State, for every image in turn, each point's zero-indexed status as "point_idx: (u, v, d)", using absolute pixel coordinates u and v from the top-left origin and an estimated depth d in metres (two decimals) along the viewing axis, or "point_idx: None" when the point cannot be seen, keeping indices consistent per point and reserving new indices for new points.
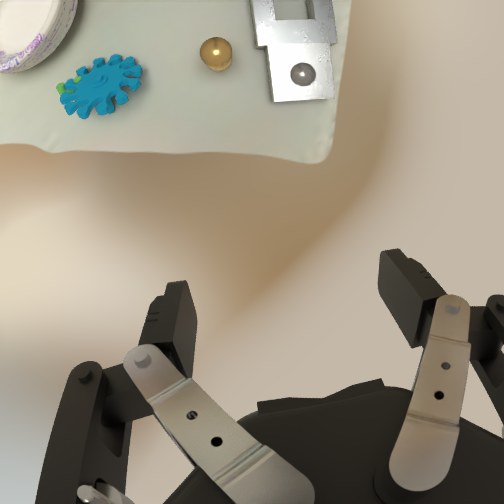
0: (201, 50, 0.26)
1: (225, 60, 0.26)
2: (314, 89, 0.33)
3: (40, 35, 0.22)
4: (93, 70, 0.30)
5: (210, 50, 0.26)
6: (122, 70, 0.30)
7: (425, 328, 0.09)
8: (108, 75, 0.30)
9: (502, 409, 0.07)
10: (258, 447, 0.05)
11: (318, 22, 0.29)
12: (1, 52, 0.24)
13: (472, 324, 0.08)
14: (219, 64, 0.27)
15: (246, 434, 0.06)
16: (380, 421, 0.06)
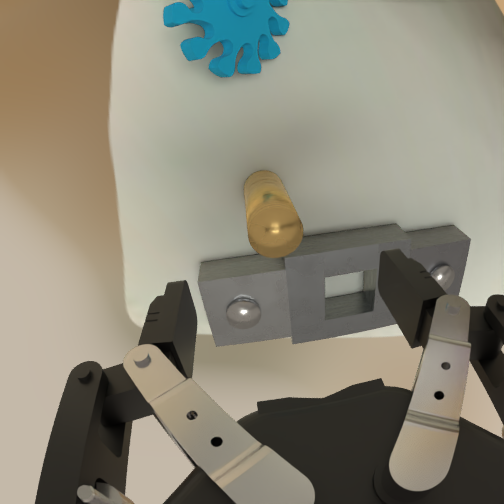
0: (279, 210, 0.17)
1: (258, 249, 0.18)
2: (223, 325, 0.27)
3: None
4: None
5: (278, 224, 0.17)
6: (254, 41, 0.17)
7: (425, 328, 0.09)
8: (248, 17, 0.16)
9: (502, 409, 0.07)
10: (258, 447, 0.05)
11: (320, 323, 0.27)
12: None
13: (472, 324, 0.08)
14: (251, 240, 0.18)
15: (246, 434, 0.06)
16: (380, 421, 0.06)
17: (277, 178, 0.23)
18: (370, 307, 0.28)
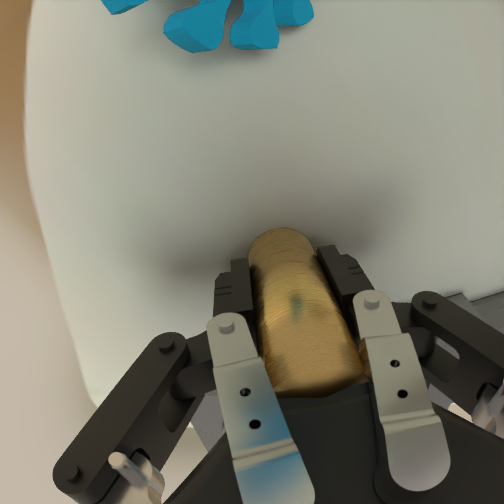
0: (334, 374, 0.07)
1: None
2: (219, 438, 0.17)
3: None
4: None
5: (326, 393, 0.08)
6: None
7: (348, 323, 0.10)
8: None
9: (461, 399, 0.08)
10: (288, 443, 0.05)
11: None
12: None
13: None
14: None
15: (285, 427, 0.06)
16: None
17: (307, 247, 0.13)
18: None
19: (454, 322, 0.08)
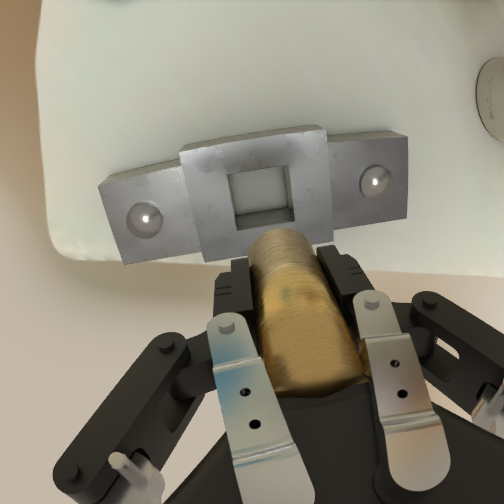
0: (334, 374, 0.07)
1: None
2: (127, 237, 0.24)
3: None
4: None
5: (326, 393, 0.08)
6: None
7: (348, 323, 0.10)
8: None
9: (461, 399, 0.08)
10: (288, 443, 0.05)
11: (232, 235, 0.25)
12: None
13: None
14: None
15: (285, 427, 0.06)
16: None
17: (307, 246, 0.13)
18: (292, 218, 0.25)
19: (454, 322, 0.08)
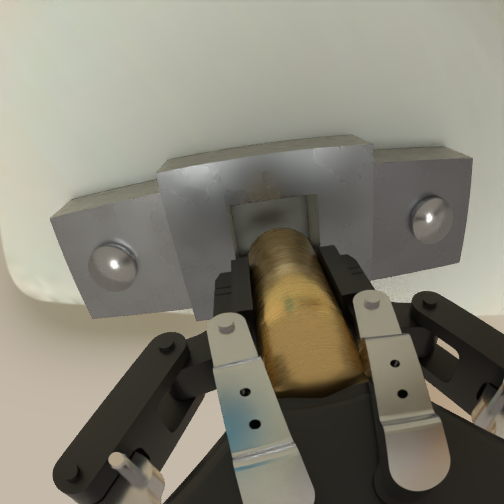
0: (334, 374, 0.07)
1: None
2: (93, 286, 0.17)
3: None
4: None
5: (326, 393, 0.08)
6: None
7: (348, 323, 0.10)
8: None
9: (461, 399, 0.08)
10: (288, 443, 0.05)
11: None
12: None
13: None
14: None
15: (285, 427, 0.06)
16: None
17: (307, 246, 0.13)
18: None
19: (454, 322, 0.08)
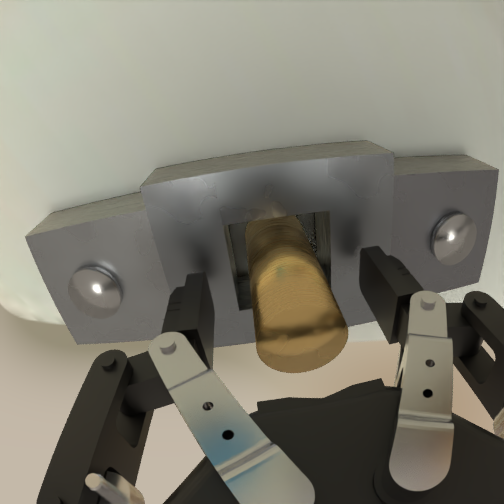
0: (313, 310, 0.09)
1: (272, 363, 0.10)
2: (75, 311, 0.15)
3: None
4: None
5: (307, 330, 0.10)
6: None
7: (401, 324, 0.10)
8: None
9: (490, 404, 0.07)
10: (268, 445, 0.05)
11: (232, 316, 0.16)
12: None
13: (448, 320, 0.09)
14: (261, 352, 0.10)
15: (258, 430, 0.06)
16: (380, 421, 0.06)
17: (296, 222, 0.15)
18: None
19: (497, 324, 0.07)
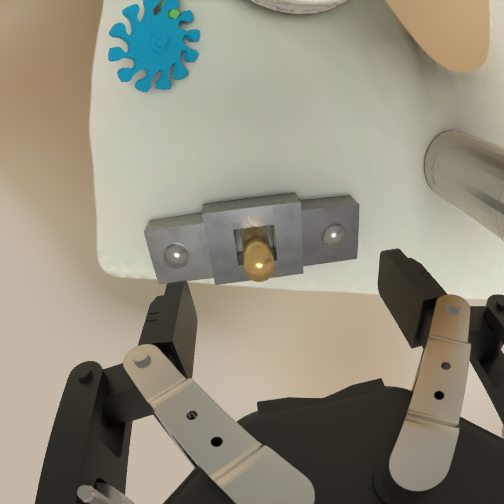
0: (262, 257, 0.31)
1: (249, 276, 0.32)
2: (163, 266, 0.37)
3: None
4: (179, 32, 0.25)
5: (261, 264, 0.32)
6: (167, 68, 0.26)
7: (425, 328, 0.09)
8: (164, 52, 0.25)
9: (502, 409, 0.07)
10: (258, 447, 0.05)
11: (235, 267, 0.37)
12: None
13: (472, 324, 0.08)
14: (246, 272, 0.32)
15: (246, 434, 0.06)
16: (380, 421, 0.06)
17: (262, 228, 0.37)
18: (275, 257, 0.38)
19: None
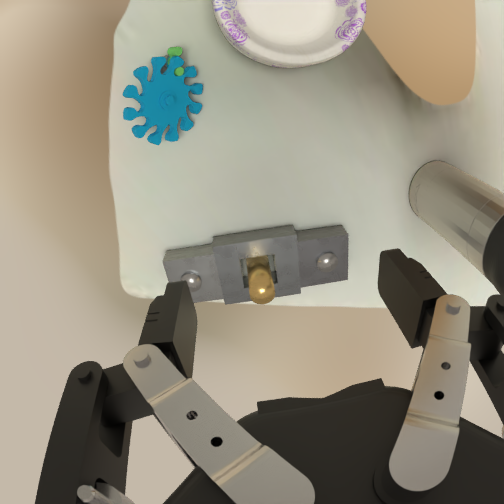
0: (264, 284, 0.37)
1: (254, 300, 0.38)
2: None
3: (242, 40, 0.25)
4: (185, 88, 0.31)
5: (263, 290, 0.38)
6: (175, 122, 0.33)
7: (425, 328, 0.09)
8: (172, 108, 0.31)
9: (502, 409, 0.07)
10: (258, 447, 0.05)
11: (241, 290, 0.43)
12: None
13: (472, 324, 0.08)
14: (251, 296, 0.38)
15: (246, 434, 0.06)
16: (380, 421, 0.06)
17: (264, 256, 0.43)
18: (276, 281, 0.44)
19: None
